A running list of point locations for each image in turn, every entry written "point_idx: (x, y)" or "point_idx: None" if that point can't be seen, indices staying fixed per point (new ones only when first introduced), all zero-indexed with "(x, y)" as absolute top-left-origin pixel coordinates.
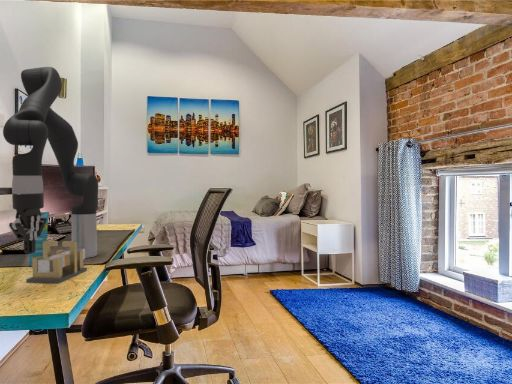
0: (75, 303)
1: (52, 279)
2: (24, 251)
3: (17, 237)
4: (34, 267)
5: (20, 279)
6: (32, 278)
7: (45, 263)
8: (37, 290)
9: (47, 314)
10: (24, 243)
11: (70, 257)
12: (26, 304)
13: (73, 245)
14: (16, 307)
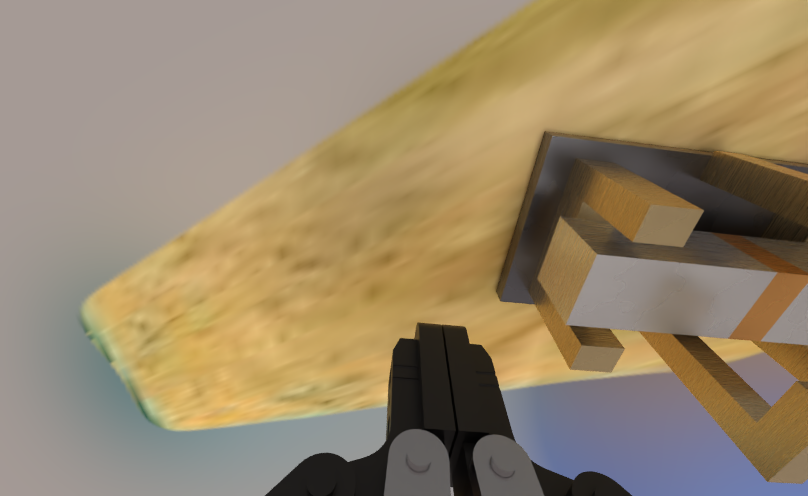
0: (244, 424)
1: (514, 274)
2: (398, 341)
3: (279, 488)
4: (604, 192)
5: (644, 42)
6: (562, 163)
7: (567, 289)
8: (384, 260)
9: (135, 401)
10: (389, 415)
11: (693, 360)
12: (200, 310)
13: (748, 449)
14: (160, 296)
